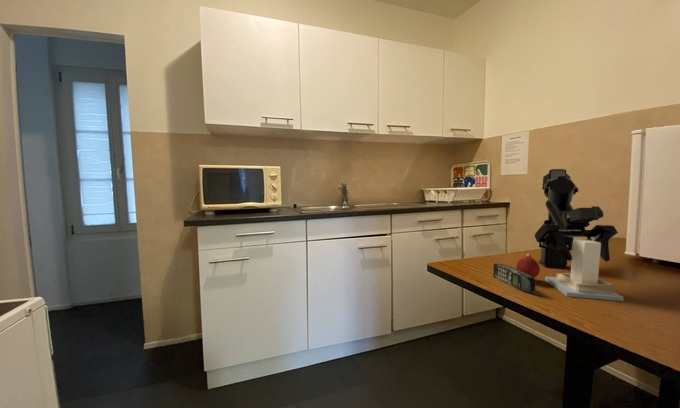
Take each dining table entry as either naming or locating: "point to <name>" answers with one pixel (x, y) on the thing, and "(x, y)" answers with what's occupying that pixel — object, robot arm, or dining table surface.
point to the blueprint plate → (574, 293)
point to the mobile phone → (515, 278)
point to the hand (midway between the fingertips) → (589, 260)
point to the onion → (528, 266)
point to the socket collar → (579, 287)
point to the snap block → (585, 261)
